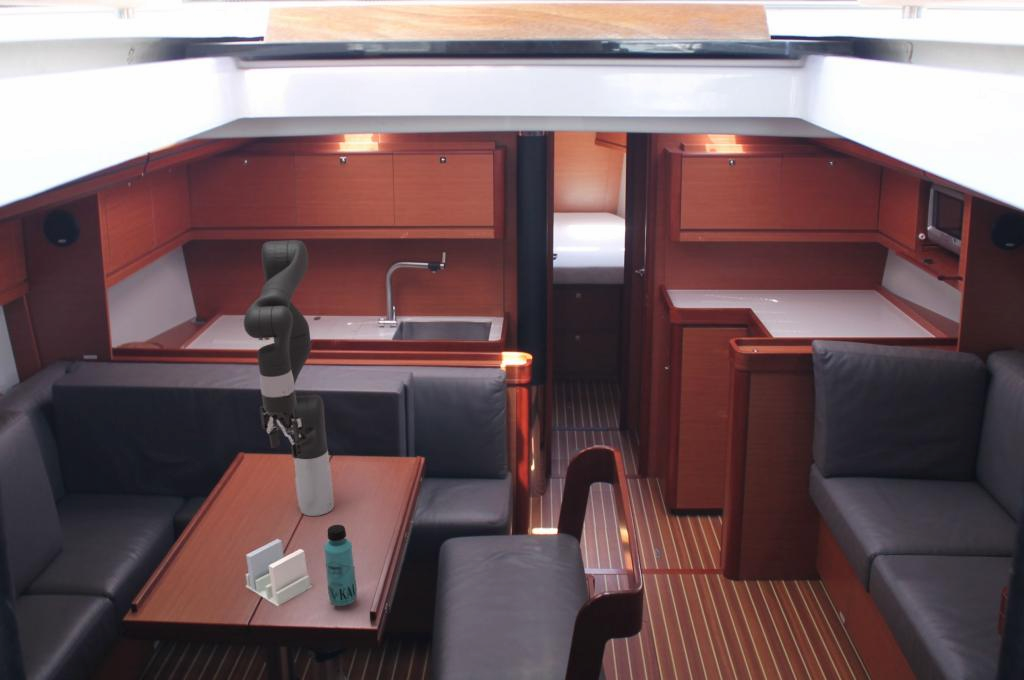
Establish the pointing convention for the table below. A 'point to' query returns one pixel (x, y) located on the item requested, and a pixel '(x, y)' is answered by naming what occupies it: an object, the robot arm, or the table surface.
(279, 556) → the plate
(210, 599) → the table surface
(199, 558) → the table surface
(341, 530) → the beverage bottle
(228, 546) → the table surface
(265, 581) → the rack
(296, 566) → the plate
